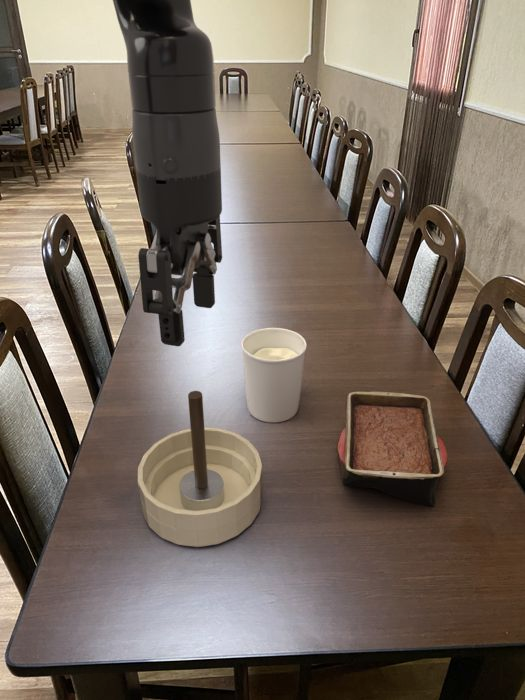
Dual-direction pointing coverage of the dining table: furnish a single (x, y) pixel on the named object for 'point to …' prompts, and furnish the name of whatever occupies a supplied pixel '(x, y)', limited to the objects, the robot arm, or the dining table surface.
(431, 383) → the dining table surface
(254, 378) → the white cup
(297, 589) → the dining table surface
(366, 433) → the baking dish
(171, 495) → the bowl
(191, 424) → the rod with silver disc
